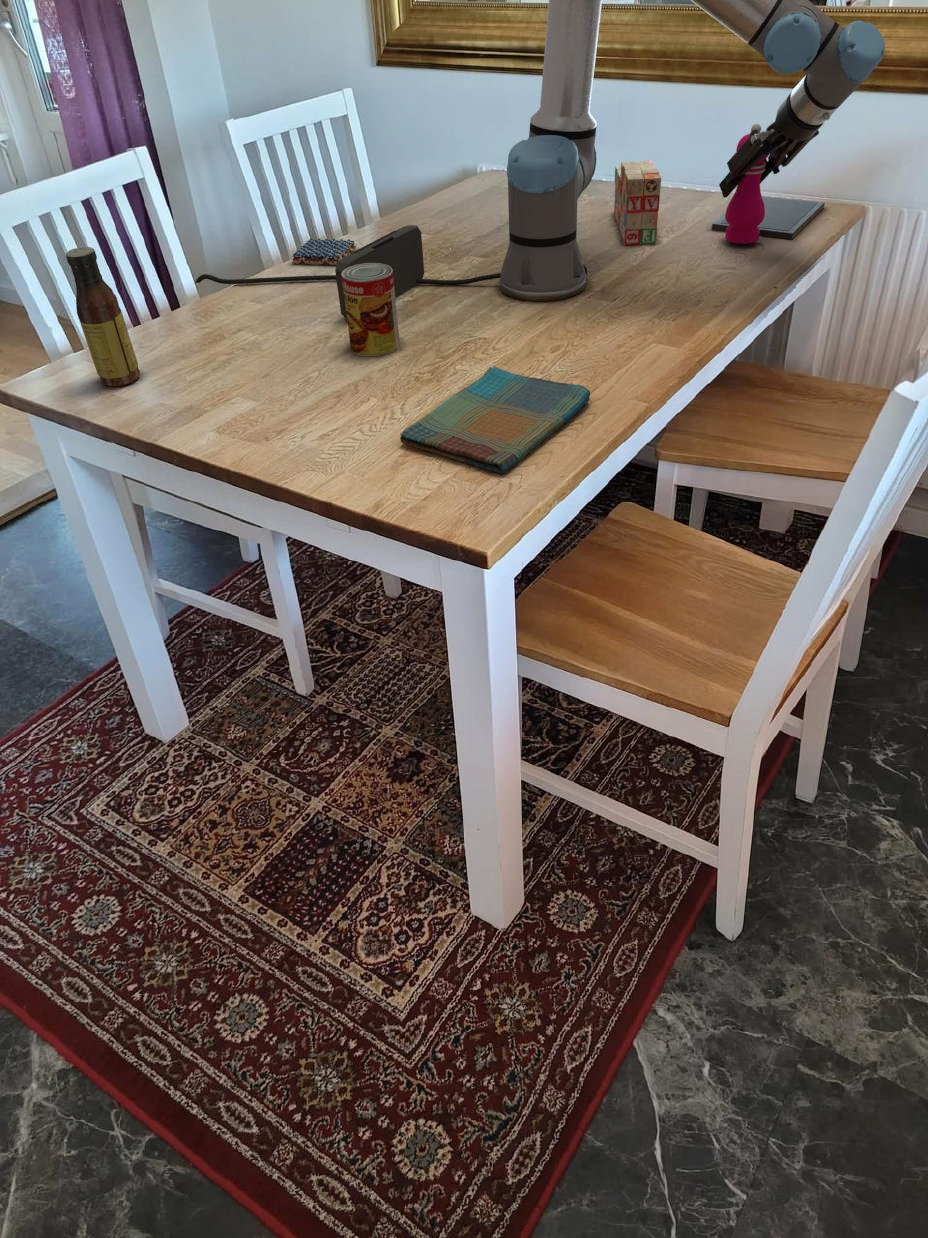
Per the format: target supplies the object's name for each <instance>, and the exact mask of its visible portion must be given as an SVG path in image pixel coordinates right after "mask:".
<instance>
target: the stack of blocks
mask: <svg viewBox="0 0 928 1238" xmlns="http://www.w3.org/2000/svg"><path fill="white" fill-rule="evenodd" d="M661 187H662V177H661V174H660V171H659V170H658V167H657V166H656V164H655V163H654V161H653V160H636V161H621V163H620V165H617V166H615V168H614V203H613V204H614V205H613V206H614V209H613V210H614V211H613V212H614V215H615V220H616V222H617V223H616V224H617V226H618V228H619V231H620V234H621V238H622V242H623V245H624V246H639V245H656V243H657V237H658V218H659V210H660V200H661V189H662V188H661Z"/></svg>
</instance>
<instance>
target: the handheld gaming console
mask: <svg viewBox="0 0 928 1238" xmlns="http://www.w3.org/2000/svg"><path fill="white" fill-rule="evenodd" d="M364 263H381V264H386V265H388V266H390V267H391V268H392V270H393V279H394V289H395V298H397V297H398V296H400V295H401V294H403V293H404V292H407V291H408V290H410V289H411V288H413V287H415V286H416V285H418V284H417V283H416V280H417V279H424V275H425V265H424V249H423V237H422V230H421V229H420V228H419V226H418V225H416V224H415V225H414V224H409V225H408V224H407V225H404V226H402V227H400V228H398V229H396V230H393V231H391V232H389V233H387V234H385V235H383V236H381V237H379V238H377V239H376V240H373V241H372V242H370V243H367V244H366V245H364V246H362V247H360V248H358V249H355V251H354V252H351V253H350V255H348V256H346V257H344V258H343V259H341V260H340V261H339V262H337V265H336V266H335V269H334V270H335V271H334V273H335V275H336V280H335V281H336V286H337V287H336V288H337V294H338V295H337V296H338V301H339V302H338V303H339V310H340V314H341V315H342V317H343V318H344V319H345V320H347V315H346V307H345V299H344V291H343V283H342V276H341V273H342V271H343V270H345V269H346V268H348V267H350V266H354V265H358V264H364Z"/></svg>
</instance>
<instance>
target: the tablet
mask: <svg viewBox="0 0 928 1238" xmlns="http://www.w3.org/2000/svg"><path fill="white" fill-rule="evenodd" d="M761 196H762V199H763V202H764V207H765V217H764V220H763V221H762V222H761V224H760V225H759V226H758V228H759V229H760V234H759V237H765V238H766V237H767V238H774V239H775V238H776V239H782V240H783V239H784V240H791V241H792V240H793V239H794V238H795V237H796V236H797V235H798V234H799V233H800V232H801V231H802V230H803V229H804V228H805V227H806V226H807V225H808V224H810V222H812V221H813V219H814V218H815V217H816V216H817V215H819V214H820V213H821V211H823V210H824V209H825V202H826V201H825V202H824V201H815V200H807V199H798V198H789V197H788V198H787V197H777V196H768V195H761ZM725 214H726V212H725V213H724V214H723V215H721V216H720V217H719V218H718V219H716V220H715V221H714V222H713V223H712V224H711V230H712V231H718V232H725V233H726V229H727V227H729V224H728V223H727V221H726V219H725Z"/></svg>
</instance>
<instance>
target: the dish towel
mask: <svg viewBox="0 0 928 1238" xmlns="http://www.w3.org/2000/svg"><path fill="white" fill-rule="evenodd" d="M590 396H591V391H590V390H589V388H587V387H586V386H584V385H582V384H573V383H565V382H559V381H552V380H547V379H543V378H537V377H529V376H524V375H522V374H516V373H513V372H510V371H508V370H504V369H503V368H499V367H497V366H495V365H493V366H492V367H491V366H489V367H488V368H487V370H486V371H485V372H484V374H483V375H482V376H481V377H480V378H478V379H476V380H475V381H474V382H473V383H471V384H470V385H467V386H466V387H464V388H463V389H461V390H460V391H458V392H457V393H455V394H453V395H452V396H451V397H450V398H448V399H446V400H445V401H443V403H441V404H440V405H439V406H437V407H436V408H435V409H433V410H432V411H430V412H429V413H427V414H425V416H423V417H422V418H420V419H419V420H417V421H415V423H413V424H411V425H409V426H408V427H405V429H404V430H403V431H402V432H400V437H399V441H400V443H402V444H404V445H406V446H411V447H414V448H418V449H420V450H423V451H425V452H426V451H427V452H430V453H434V454H437V455H440V456H443V457H445V458H450V459H453V460H456V461H459V462H462V463H466V464H467V465H471V466H475V467H478V468H481V469H485V470H487V471H491V472H495V473H498V474H505V473H506V472H507V471H509V470H510V469H511V468H512V467H514V466H515V465H516V464H518V462H520V461H521V460H522V459H524V458H526V456H527V455H528V454H529V453H531V452H532V451H533V449H535V448H536V447H537V446H539V445H540V444H541V443H542V442H543V441H544V440H545V439H548V437H549V436H550V435H551V434H553V433H554V432H556V431H557V430H558V429H559V428H560V427H562V426H563V425H564V424H565V423H566V422H568V421H569V420H571V418H572V417H573V416H575V415H576V414H577V413H578V412H579V411H580V410H581V409H582V408H583V407H584V406H585V404H587V403H589V401H590V399H591V398H590Z"/></svg>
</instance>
